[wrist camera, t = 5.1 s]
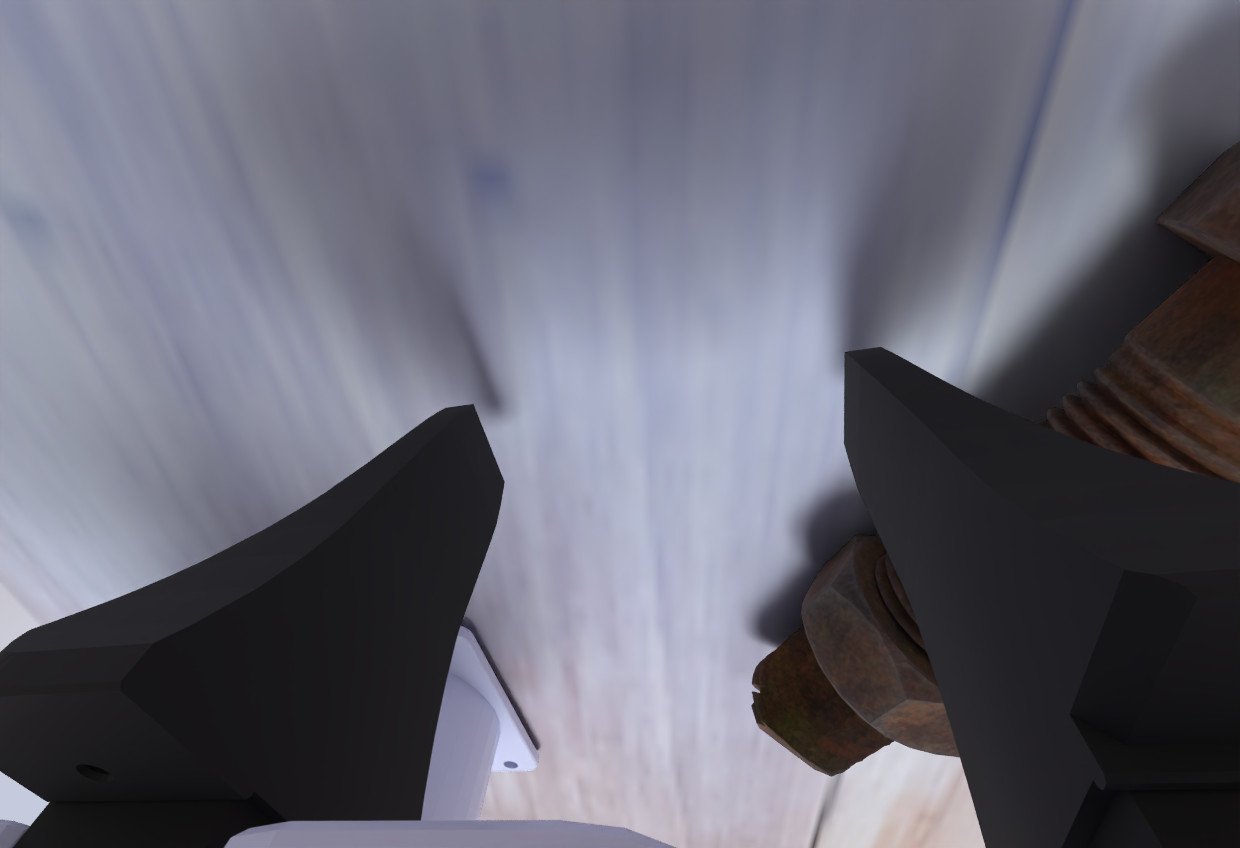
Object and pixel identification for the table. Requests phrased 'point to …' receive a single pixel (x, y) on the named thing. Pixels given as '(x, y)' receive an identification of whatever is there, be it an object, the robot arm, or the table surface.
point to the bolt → (1104, 416)
